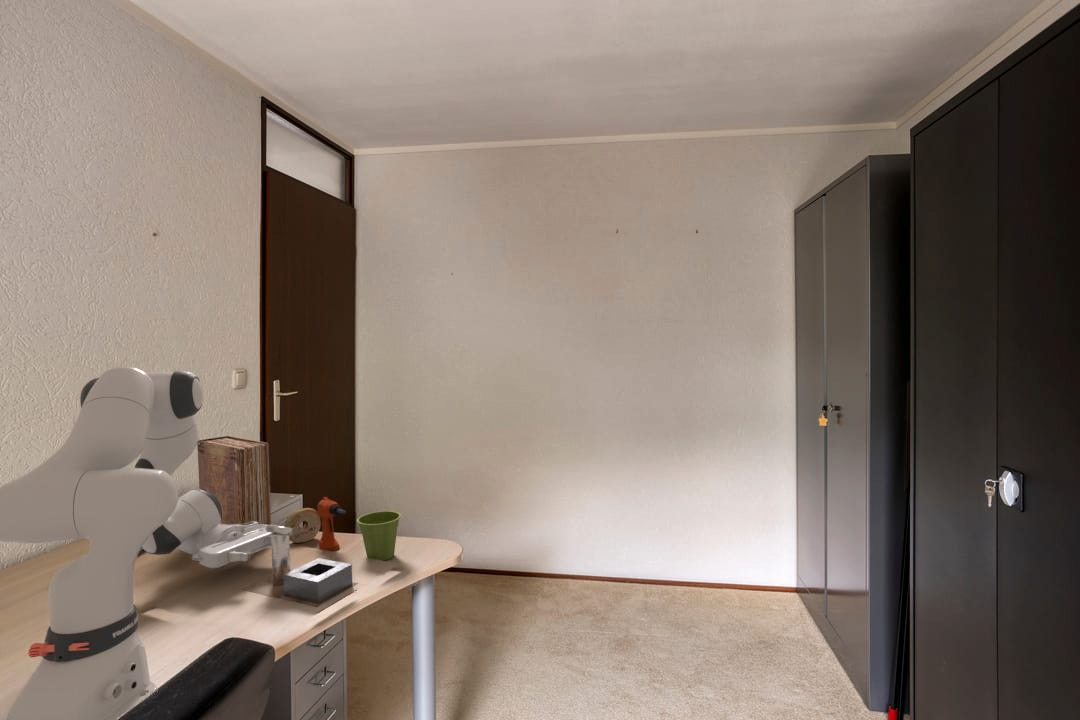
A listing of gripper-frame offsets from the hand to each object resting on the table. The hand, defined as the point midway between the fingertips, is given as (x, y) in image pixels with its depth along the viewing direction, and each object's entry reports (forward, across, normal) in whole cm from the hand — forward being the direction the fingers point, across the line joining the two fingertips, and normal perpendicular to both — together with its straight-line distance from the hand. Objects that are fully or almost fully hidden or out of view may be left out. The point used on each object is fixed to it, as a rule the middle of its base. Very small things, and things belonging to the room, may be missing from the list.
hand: (265, 550), depth 140 cm
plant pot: (+15, +25, +9) cm, 30 cm away
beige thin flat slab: (+11, 0, +9) cm, 14 cm away
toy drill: (0, +23, +9) cm, 25 cm away
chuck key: (+5, 0, +7) cm, 9 cm away
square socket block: (+17, 0, +7) cm, 19 cm away
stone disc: (-16, +26, +9) cm, 32 cm away
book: (-38, +21, +9) cm, 44 cm away
